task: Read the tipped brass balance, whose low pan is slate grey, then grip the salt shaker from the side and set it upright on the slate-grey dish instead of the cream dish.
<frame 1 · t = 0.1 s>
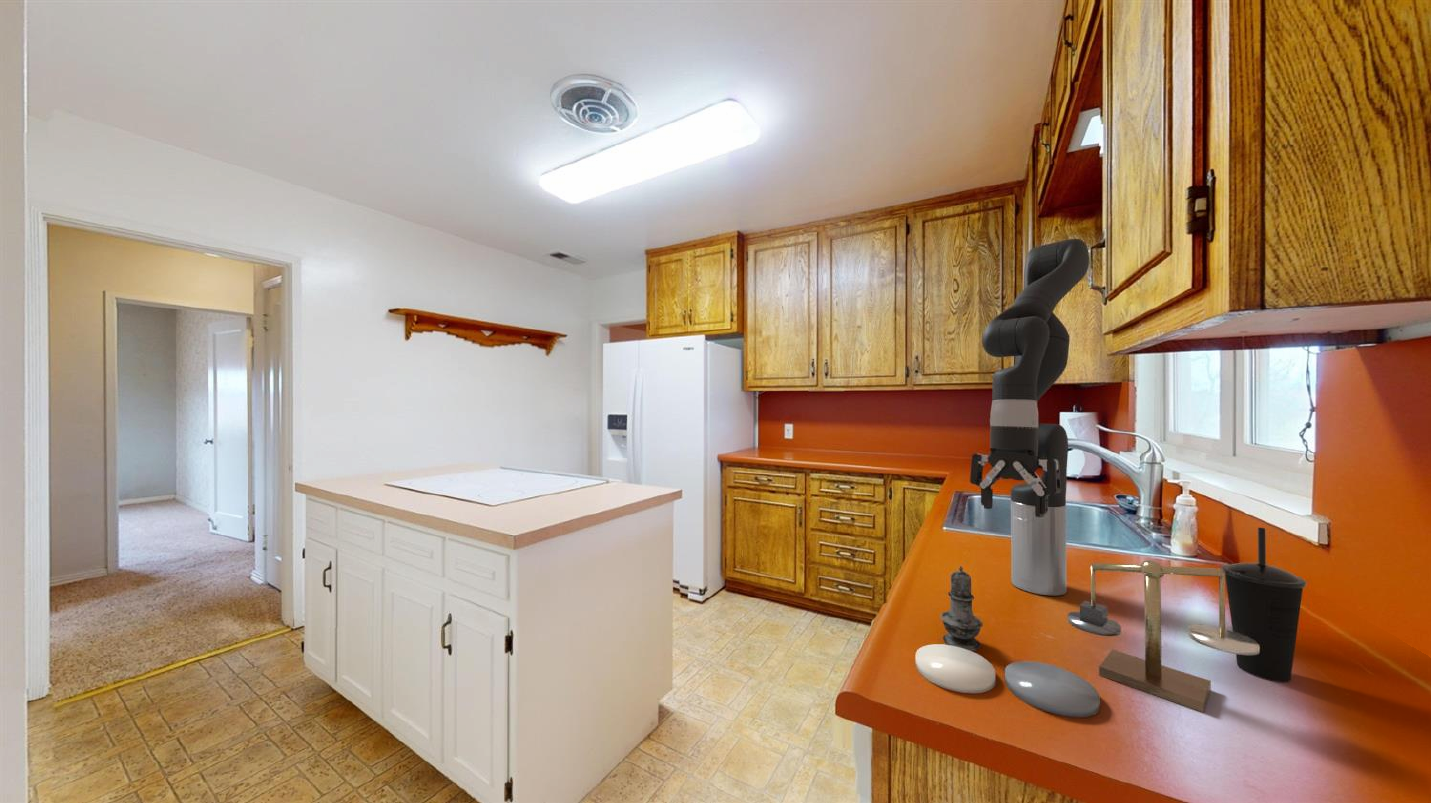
hand: (1012, 512, 86), 17 cm above the counter, tool pointing down, fingers open, 8 cm apart
brass balance: (1153, 682, 63), on the counter
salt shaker: (961, 643, 74), on the counter
slate-grey dish: (1050, 691, 61), on the counter
drinking cup: (1263, 673, 65), on the counter
cream dish: (954, 671, 66), on the counter
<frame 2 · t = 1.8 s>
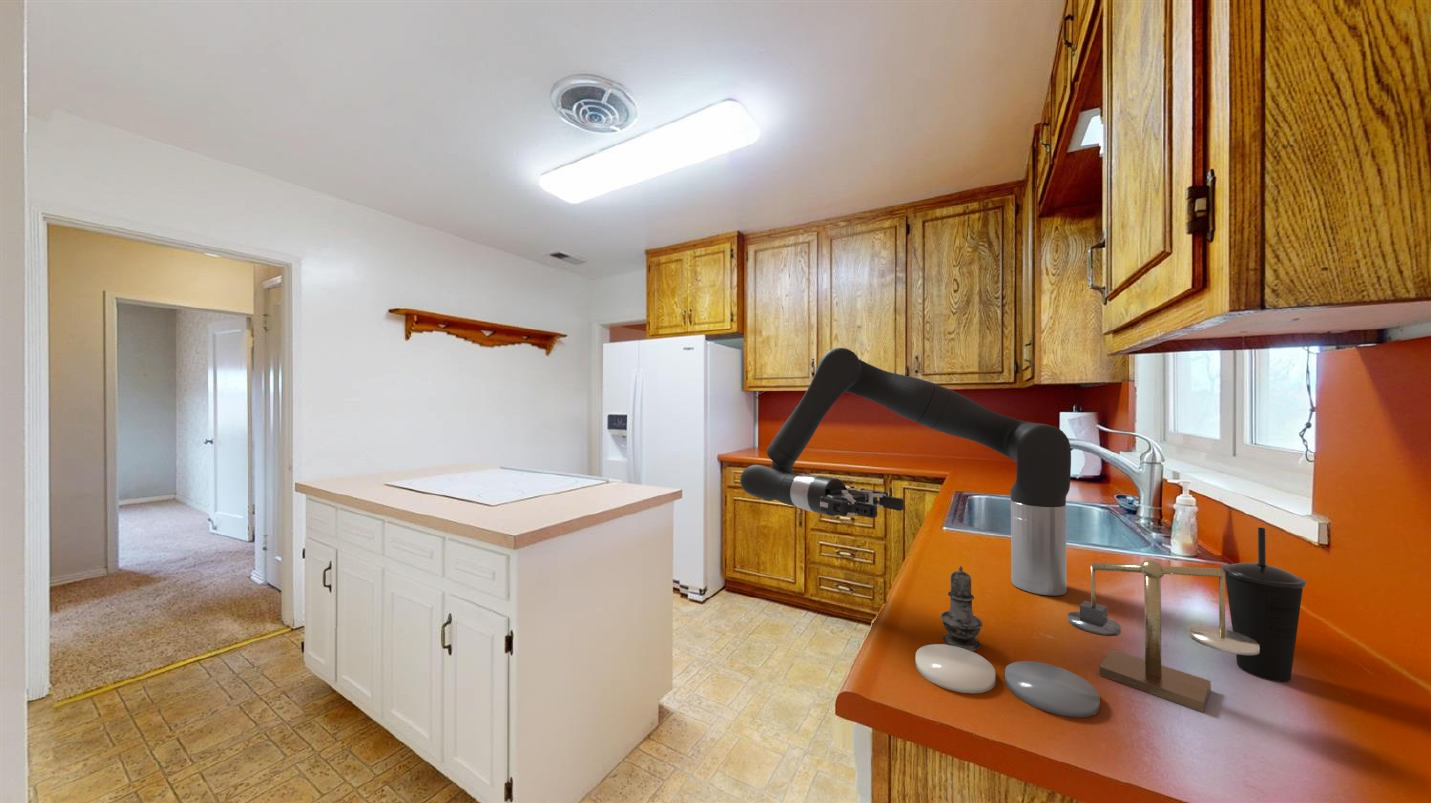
hand: (889, 508, 83), 19 cm above the counter, tool horizontal, fingers open, 8 cm apart
nothing on the counter moved.
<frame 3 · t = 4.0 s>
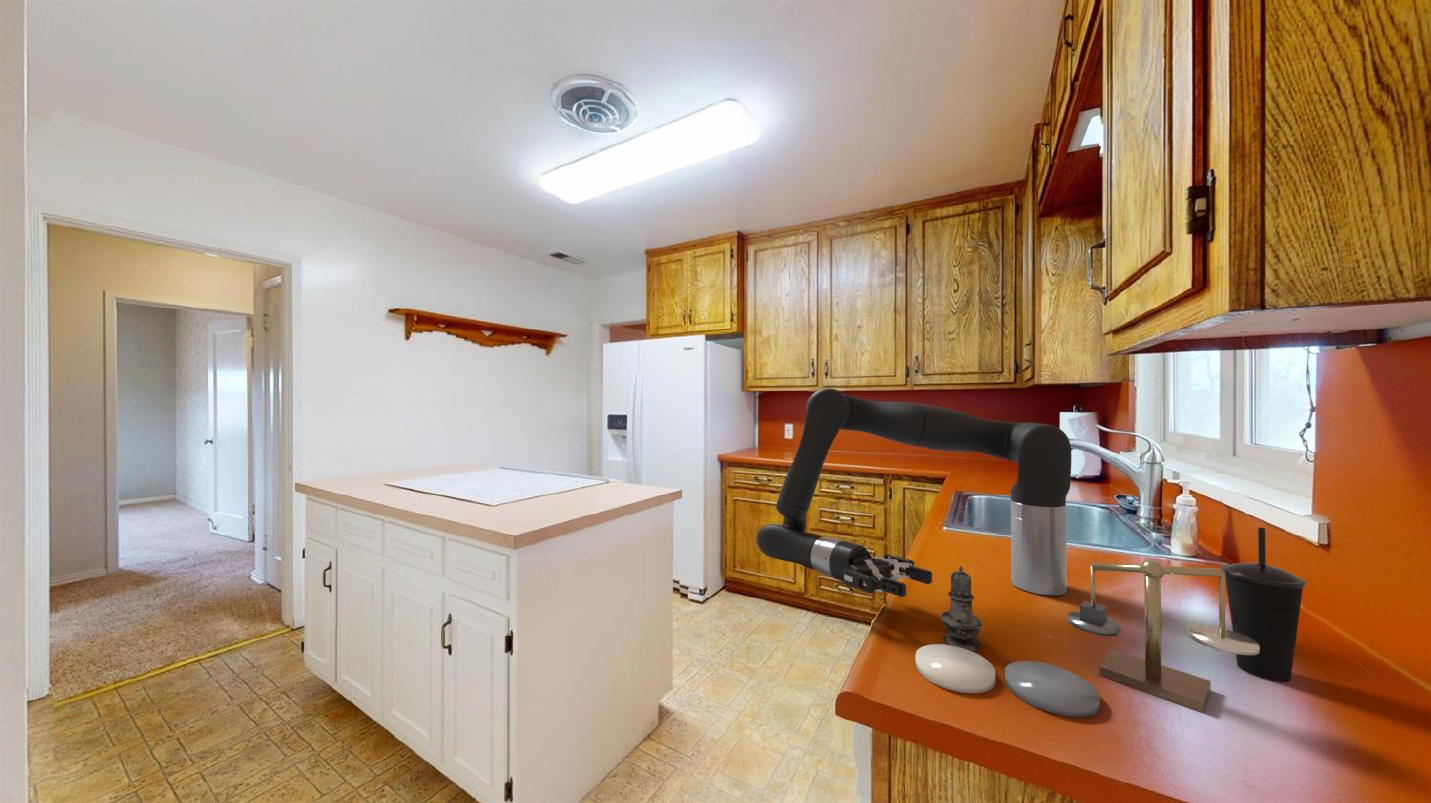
hand: (918, 584, 79), 7 cm above the counter, tool horizontal, fingers open, 8 cm apart
nothing on the counter moved.
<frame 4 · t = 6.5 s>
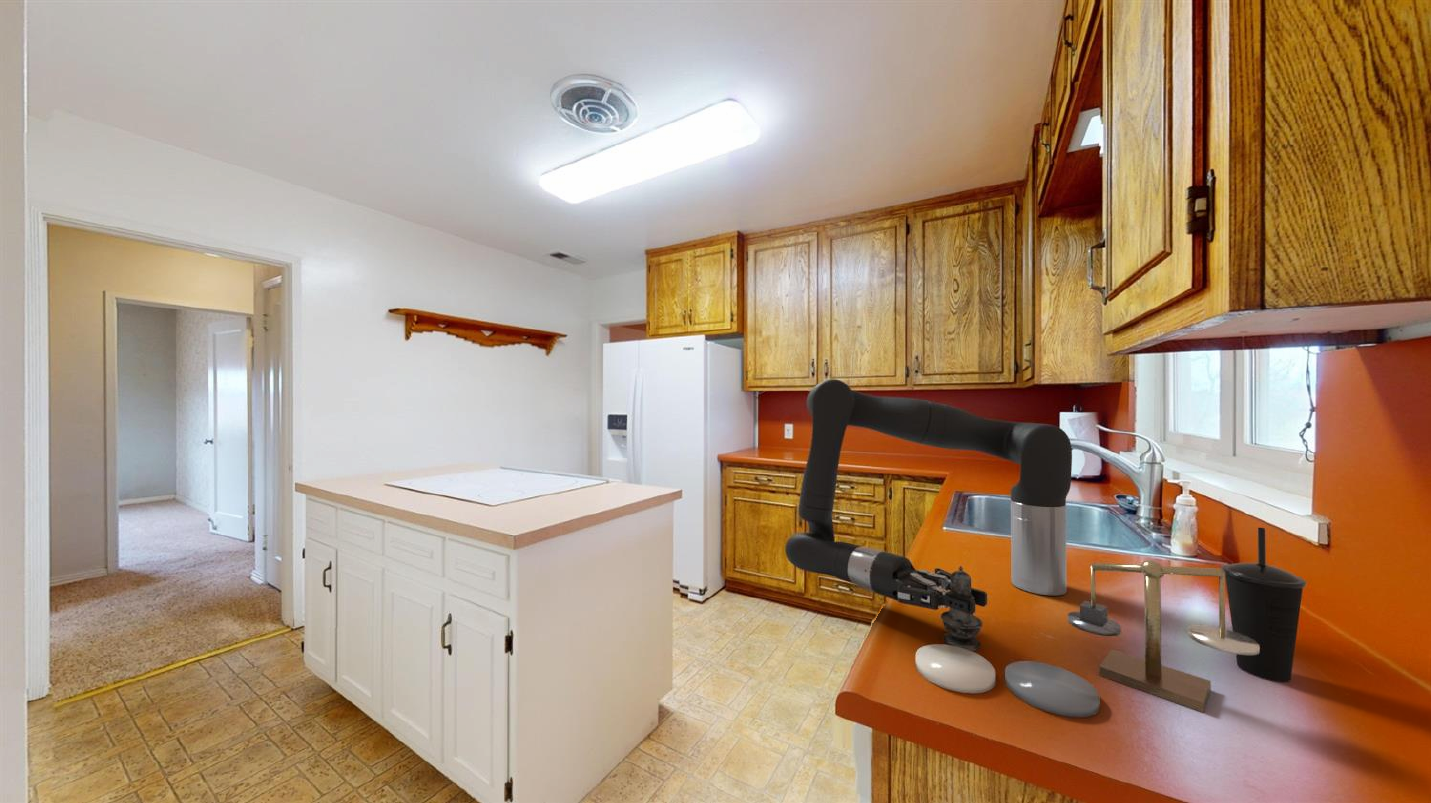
hand: (979, 603, 71), 7 cm above the counter, tool horizontal, fingers closed on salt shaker, 3 cm apart
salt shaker: (961, 643, 74), on the counter, touching gripper
everything else where it was.
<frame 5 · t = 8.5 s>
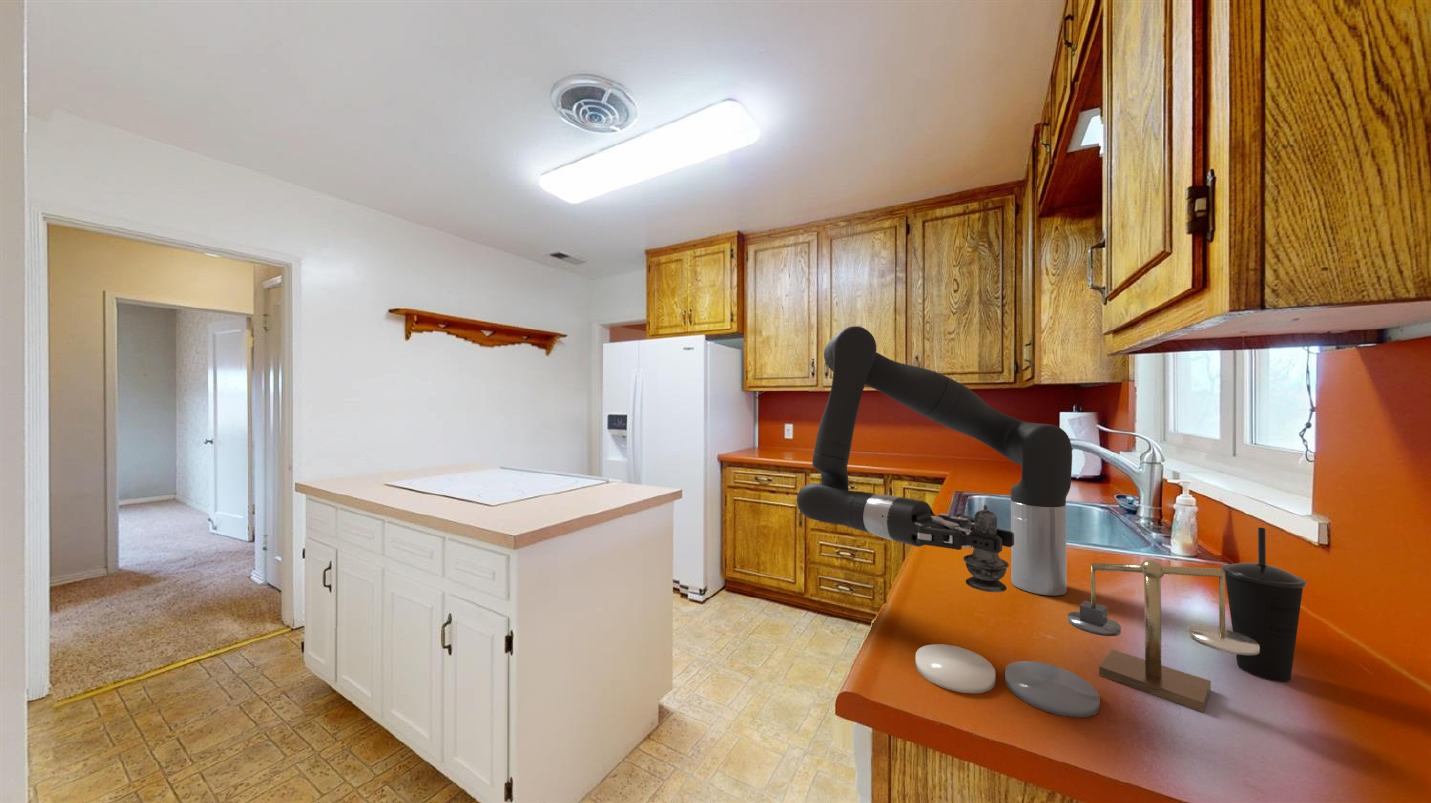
hand: (1006, 542, 67), 18 cm above the counter, tool horizontal, fingers closed on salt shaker, 3 cm apart
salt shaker: (985, 586, 69), point 10 cm above the counter, touching gripper
everything else where it was.
when the fingers open (9 cm above the counter, at t = 11.0 s): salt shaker drops 1 cm, resting on slate-grey dish.
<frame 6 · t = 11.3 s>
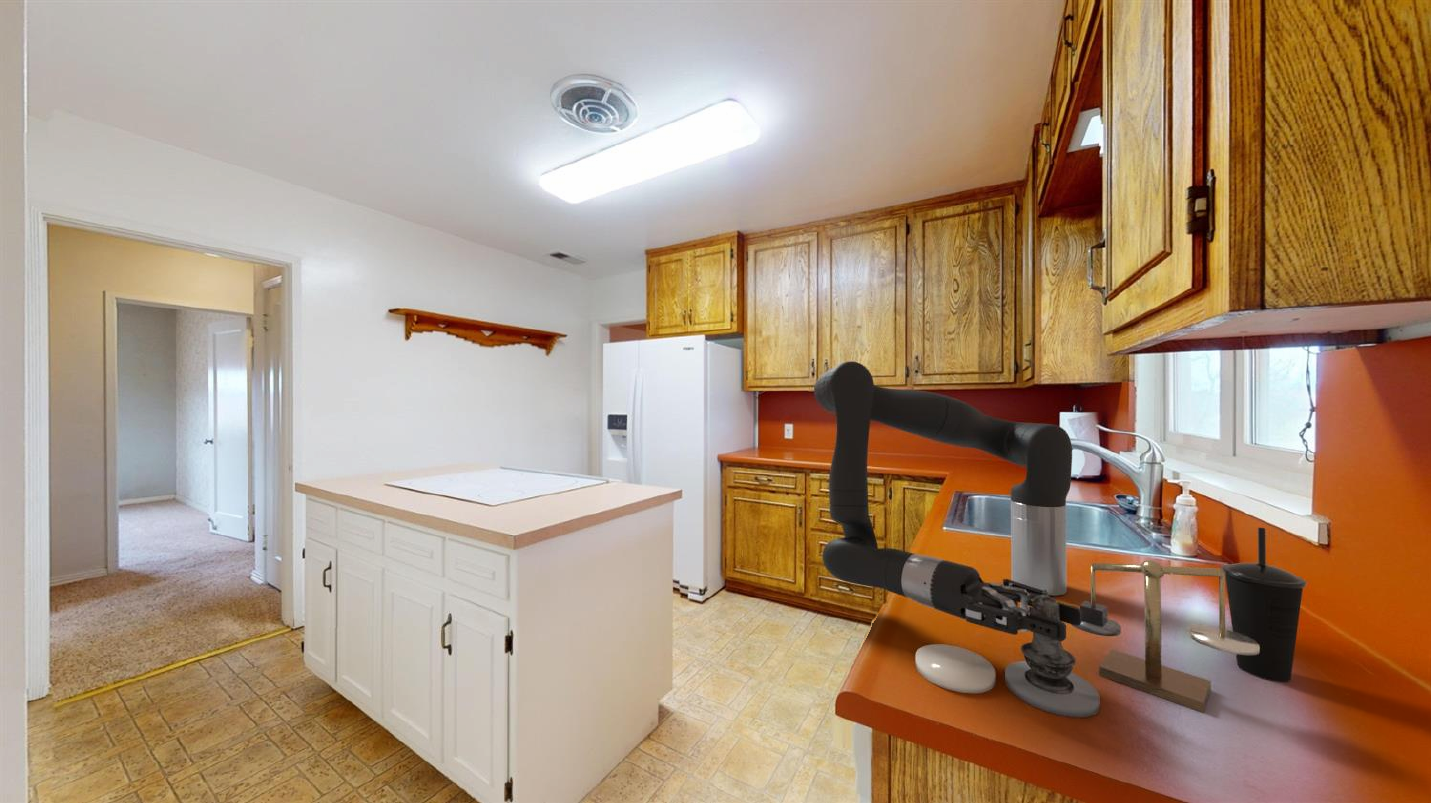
hand: (1072, 624, 59), 10 cm above the counter, tool horizontal, fingers open, 5 cm apart
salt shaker: (1048, 682, 61), point 1 cm above the counter, touching slate-grey dish
everything else where it was.
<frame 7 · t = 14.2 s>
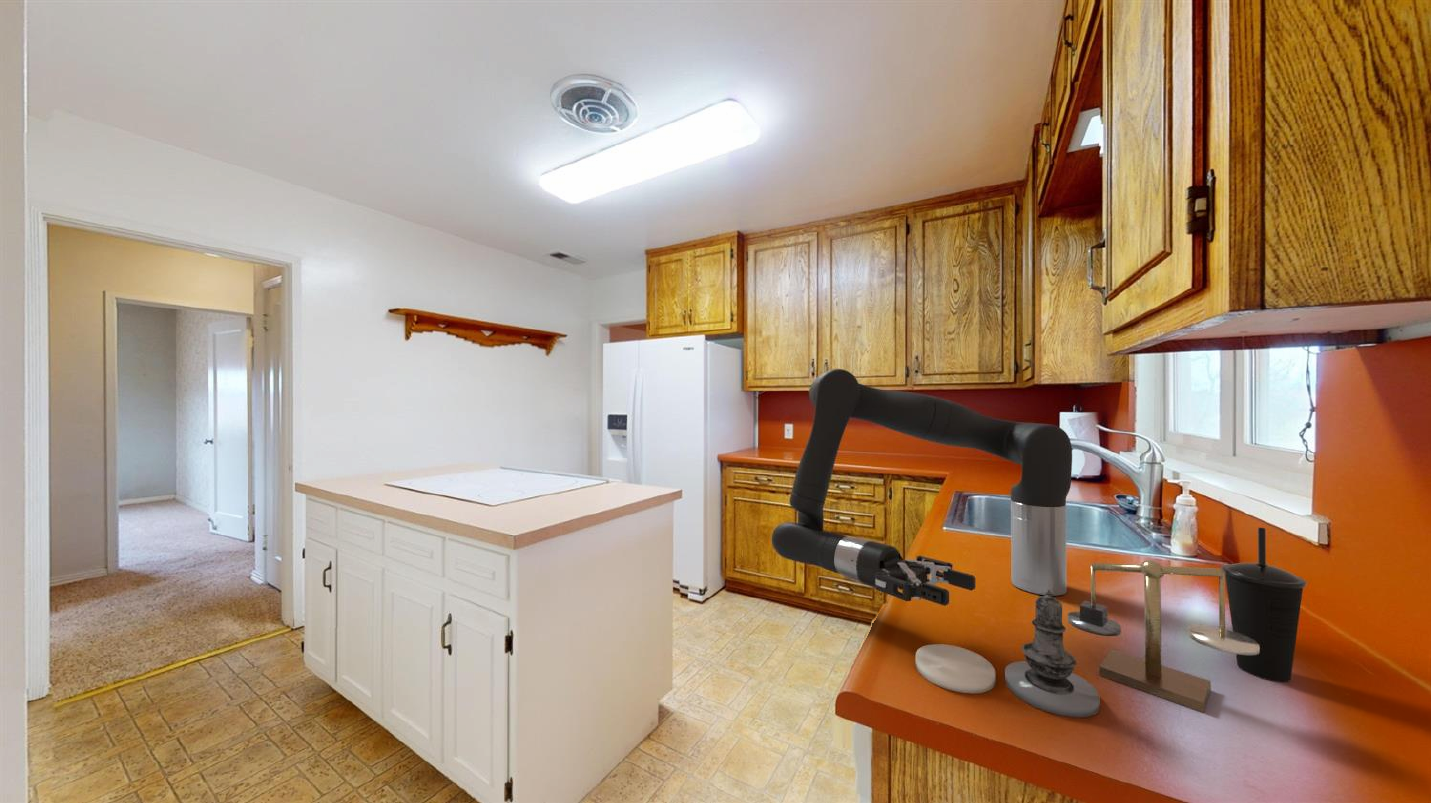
hand: (961, 590, 70), 10 cm above the counter, tool horizontal, fingers open, 8 cm apart
nothing on the counter moved.
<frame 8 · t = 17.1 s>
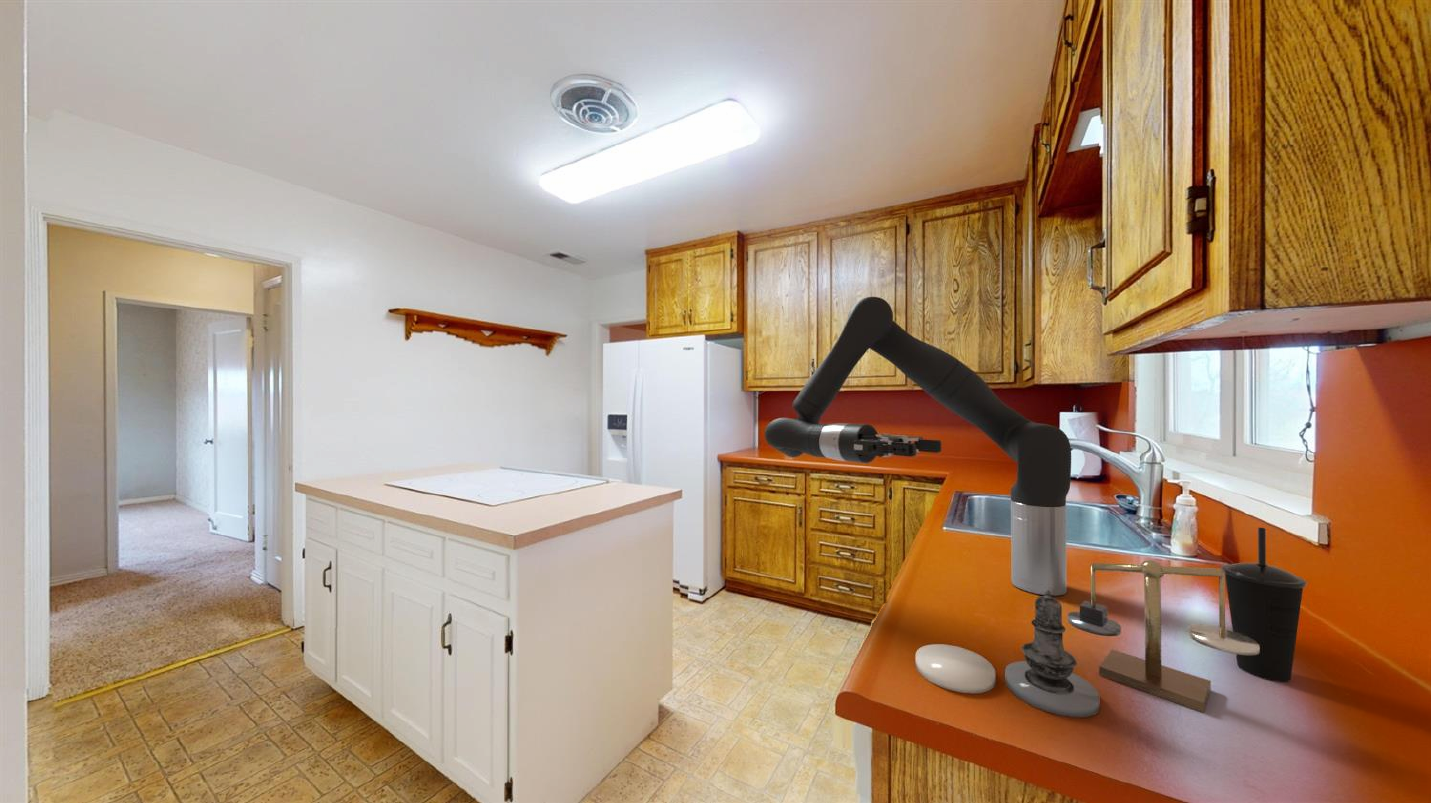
hand: (928, 448, 80), 30 cm above the counter, tool horizontal, fingers open, 8 cm apart
nothing on the counter moved.
at the end: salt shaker 0.2 cm off-centre on the slate-grey dish, point 1.0 cm above the slate-grey dish's base; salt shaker tilted 0°; the gripper is holding nothing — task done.
